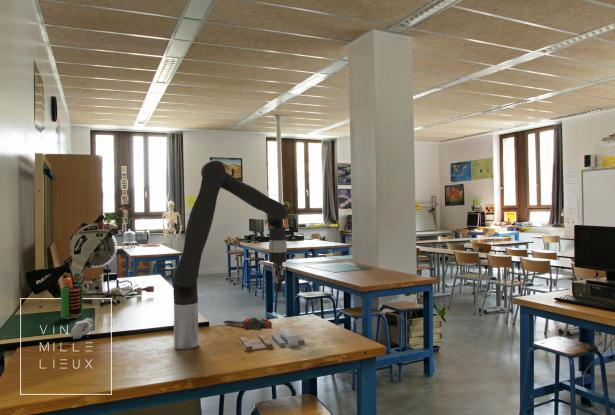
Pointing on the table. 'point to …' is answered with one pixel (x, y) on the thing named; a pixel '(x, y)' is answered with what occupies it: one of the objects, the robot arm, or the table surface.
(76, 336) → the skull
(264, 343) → the cradle
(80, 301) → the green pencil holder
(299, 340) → the grey channel bracket
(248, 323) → the valve
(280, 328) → the block
